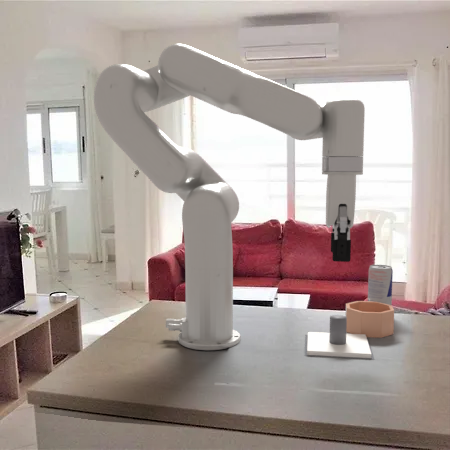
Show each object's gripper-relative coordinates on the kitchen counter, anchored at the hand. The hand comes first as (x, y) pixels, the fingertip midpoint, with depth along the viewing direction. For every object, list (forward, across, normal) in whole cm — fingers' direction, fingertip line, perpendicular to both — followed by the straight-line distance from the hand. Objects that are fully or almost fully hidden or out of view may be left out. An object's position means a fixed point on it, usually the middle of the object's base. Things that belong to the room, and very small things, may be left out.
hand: (340, 256), depth 106 cm
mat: (+18, 0, 0) cm, 18 cm away
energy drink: (+18, -24, +10) cm, 32 cm away
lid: (+18, 0, 0) cm, 18 cm away
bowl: (+18, -12, +7) cm, 22 cm away
